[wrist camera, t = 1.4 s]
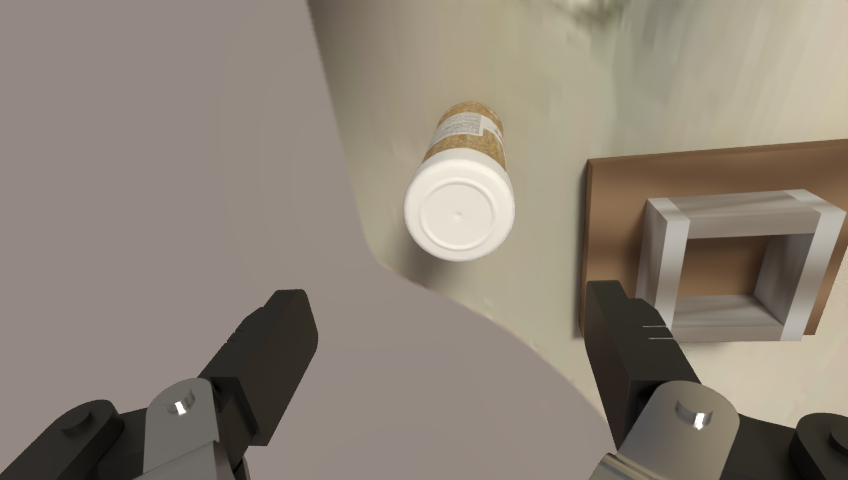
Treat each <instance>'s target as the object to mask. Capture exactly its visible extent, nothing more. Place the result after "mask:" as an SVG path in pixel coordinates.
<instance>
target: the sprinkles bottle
mask: <svg viewBox="0 0 848 480" xmlns="http://www.w3.org/2000/svg"><path fill="white" fill-rule="evenodd" d="M403 212H404V220H405V223H406V226H407V229H408V231H409V233H410V235H411V236H412V238H413V239H414V240H415V242H416V243H417V244H418V245H419V246H420V247H421V248H422V249H424V250H425V251H426V252H428V253H429V254H431V255H433V256H435V257H437V258H440V259H443V260H447V261H453V262H466V261H473V260H476V259H480V258H482V257H485V256H487V255H488V254H490V253H492V252H493V251H494V250H496V249H497V248H498V247H499V246H500V245H501V244H502V243H503V242H504V241H505V239H506V238H507V236H508V235H509V233H510V231H511V229H512V226H513V222H514V217H515V203H514V195H513V189H512V185H511V182H510V180H509V177H508V175H507V174H506V158H505V150H504V142H503V129H502V125H501V122H500V120H499V118H498V117H497V115H496V114H495V113H494V112H493V111H492V110H491V109H490V108H488V107H486V106H484V105H482V104H478V103H474V102H466V103H461V104H458V105H456V106H453V107H452V108H451V109H449V110H448V111H447V112H446V113H445V114H444V115H443V117H442V118H441V120H440V122H439V124H438V126H437V131H436V132H435V134H434V136H433V139H432V141H431V143H430V145H429V147H428V150H427V152H426V154H425V157H424V159H423V162H422V165H421V166H420V167H419V168H418V169H417V171H416V172H415V174H414V175H413V178H412V180H411V182H410V184H409V187H408V189H407V192H406V195H405V199H404V206H403Z"/></svg>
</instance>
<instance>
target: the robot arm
mask: <svg viewBox="0 0 848 480" xmlns="http://www.w3.org/2000/svg"><path fill="white" fill-rule="evenodd" d="M584 341H585V347H586V351H587V355H588V358H589V361H590V364H591V368H592V371H593V374H594V377H595V381H596V384H597V387H598V391H599V394H600V397H601V400H602V404H603V407H604V410H605V413H606V417H607V420H608V423H609V427H610V430H611V433H612V436H613V440H614V443H615V446H616V449H617V453H616V454H615V455H613V454H611V453H607V454H606V455H605V456H604V457H603V458H602V459H601V461H600V462H599V463H598V465H597V467H596V468H595V470H594V471H593V473H592V475H591V476H590V478H589V480H848V417H845V416H842V415H837V414H831V413H813V414H809V415H806V416H804V417H802V418H801V419H800V420H799V422H798V424H797V426H796V429H794V428H790V427H786V426H782V425H778V424H773V423H769V422H765V421H761V420H757V419H754V418H750V417H747V416H744V415H742V414H739V413H737V411H736V409H735V408H734V406H733V405H732V404H731V403H730V402H729V401H728V400H727V399H726V398H725V397H724V396H722V395H721V394H720V393H718V392H716V391H715V390H713V389H711V388H709V387H707V386H704V385H702V384H701V382H700V381H699V379H698V377H697V375H696V374H695V372H694V370H693V369H692V367H691V365H690V364H689V362H688V360H687V359H686V357H685V355H684V354H683V352H682V350H681V349H680V347H679V345H678V344H677V342H676V340H674V339H673V335H672V334H671V332H670V330H669V328H667V327H666V323H665V322H664V320H663V318H662V317H661V315H660V313H659V312H658V310H657V309H655V308H654V307H653V306H651V305H650V304H649V303H647V302H646V301H645V300H643V299H642V298H631V299H628V297H627V295H626V293H625V291H624V289H623V287H622V285H621V283H620V282H619V281H618V280H594V281H588V282H587V285H586V297H585V314H584ZM317 344H318V332H317V328H316V324H315V321H314V317H313V314H312V311H311V307H310V304H309V300H308V297H307V294H306V292H305V291H304V290H302V289H294V290H277V291H276V292H275V293H274V294H273V295H272V296H271V298H270V299H269V300H268V302H267V303H266V304H265V305H264V307H260V308H258V309H257V310H256V311H254V312H253V313H251V314H250V315H249V316H247V317H246V318H245V319H244V320H243V321H242V323H241V324H240V325H239V326H238V328H237V329H236V330H235V333H233V334H232V335H231V336H230V337H229V339H228V340H227V343H225V344H224V345H223V346H222V347H221V349H220V350H219V351H218V352H217V354H216V355H215V356H214V357H213V358H212V360H211V361H210V362H209V363H208V365H207V366H206V367H205V368H204V370H203V371H202V372H201V373H200V375H199V376H198V377H197V378H191V379H187V380H183V381H180V382H178V383H176V384H174V385H172V386H170V387H168V388H167V389H165V390H164V391H162V392H161V393H160V394H159V395H158V396H157V397H156V398H155V399H154V400H153V401H152V402H151V404H150V405H149V407H148V408H143V409H139V410H135V411H132V412H127V413H123V414H118V412H117V410H116V409H115V407H114V406H113V404H112V403H111V402H110V401H108V400H95V401H91V402H87V403H84V404H82V405H79V406H77V407H75V408H73V409H71V410H70V411H68V412H66V413H65V414H63V415H62V416H61V417H59V418H58V419H56V420H55V421H54V422H53V423H52V424H51V425H50V426H49V427H48V428H47V429H46V430H45V431H44V432H43V433H42V434H41V435H40V436H39V437H38V438H37V439H36V440H35V441H34V442H33V443H31V445H30V446H29V447H27V448H26V449H25V450H24V451H23V452H22V453H21V454H20V455H19V456H18V457H17V458H16V459H15V460H14V461H13V462H12V463H11V464H10V465H9V466H8V467H7V468H6V469H5V470H4V471H3V472H2V473H1V474H0V480H250V475H249V470H248V466H247V462H246V459H245V457H244V453H245V451H246V450H247V448H248V446H249V445H250V446H267V445H268V443H269V441H270V439H271V437H272V435H273V434H274V431H275V430H276V428H277V426H278V424H279V422H280V420H281V418H282V416H283V414H284V412H285V410H286V408H287V406H288V404H289V402H290V400H291V398H292V396H293V395H294V392H295V391H296V389H297V387H298V385H299V383H300V381H301V379H302V377H303V375H304V373H305V371H306V369H307V367H308V365H309V363H310V361H311V359H312V358H313V356H314V353H315V352H316V349H317Z"/></svg>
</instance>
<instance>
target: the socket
mask: <svg viewBox="0 0 848 480" xmlns="http://www.w3.org/2000/svg"><path fill="white" fill-rule="evenodd" d="M847 246H848V139H839V140H827V141H814V142H801V143H788V144H775V145H763V146H750V147H737V148H724V149H712V150H699V151H686V152H673V153H661V154H648V155H635V156H622V157H610V158H597V159H588V170H587V189H586V207H585V226H584V245H583V263H582V282H581V301H580V319H579V326H580V329H581V333H582V336H583V337H584V314H585V297H586V285H587V282H588V281H594V280H618V281H619V282H620V283H621V285H622V287H623V289H624V291H625V293H626V295H627V297H628V299H631V298H642V299H643V300H645V301H646V302H647V303H649V304H650V305H651V306H653V307H654V308H655V309H657V310H658V312H659V313H660V315H661V317H662V318H663V320H664V322H665V323H666V327H667V328H669V330H670V332H671V334H672V335H673V339H674V340H676V342H733V341H801V339H802V336H803V335H815V332H816V329H817V327H818V324H819V321H820V318H821V316H822V313H823V310H824V308H825V305H826V302H827V300H828V297H829V294H830V292H831V289H832V286H833V284H834V281H835V278H836V275H837V273H838V270H839V267H840V265H841V262H842V259H843V257H844V254H845V251H846V249H847Z"/></svg>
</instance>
